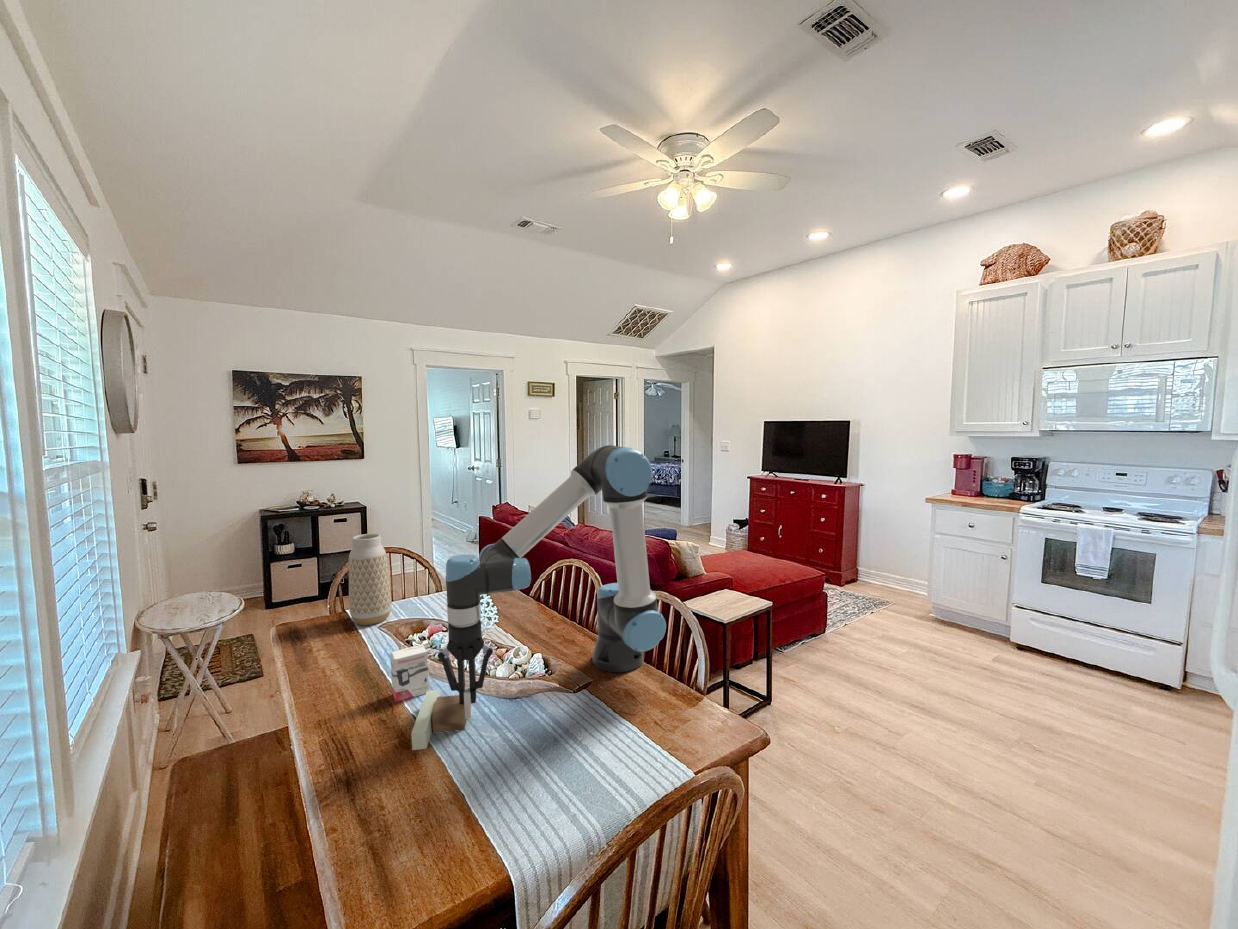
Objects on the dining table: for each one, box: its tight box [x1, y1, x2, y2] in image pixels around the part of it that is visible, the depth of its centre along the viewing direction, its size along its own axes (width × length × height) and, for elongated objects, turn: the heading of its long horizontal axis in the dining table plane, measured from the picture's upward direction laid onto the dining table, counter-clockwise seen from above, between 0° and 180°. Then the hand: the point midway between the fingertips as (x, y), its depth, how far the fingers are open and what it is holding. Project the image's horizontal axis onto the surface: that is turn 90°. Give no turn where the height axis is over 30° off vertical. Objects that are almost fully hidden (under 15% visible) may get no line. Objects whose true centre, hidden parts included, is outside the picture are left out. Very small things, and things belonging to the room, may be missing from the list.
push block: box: [432, 694, 467, 734], centre depth 128 cm, size 7×7×5 cm
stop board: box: [411, 689, 441, 751], centre depth 127 cm, size 3×18×4 cm, turn 9°
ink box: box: [389, 644, 430, 703], centre depth 141 cm, size 8×5×12 cm, turn 123°
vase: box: [348, 533, 392, 626], centre depth 190 cm, size 14×14×31 cm
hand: (468, 715), depth 128 cm, fingers closed
